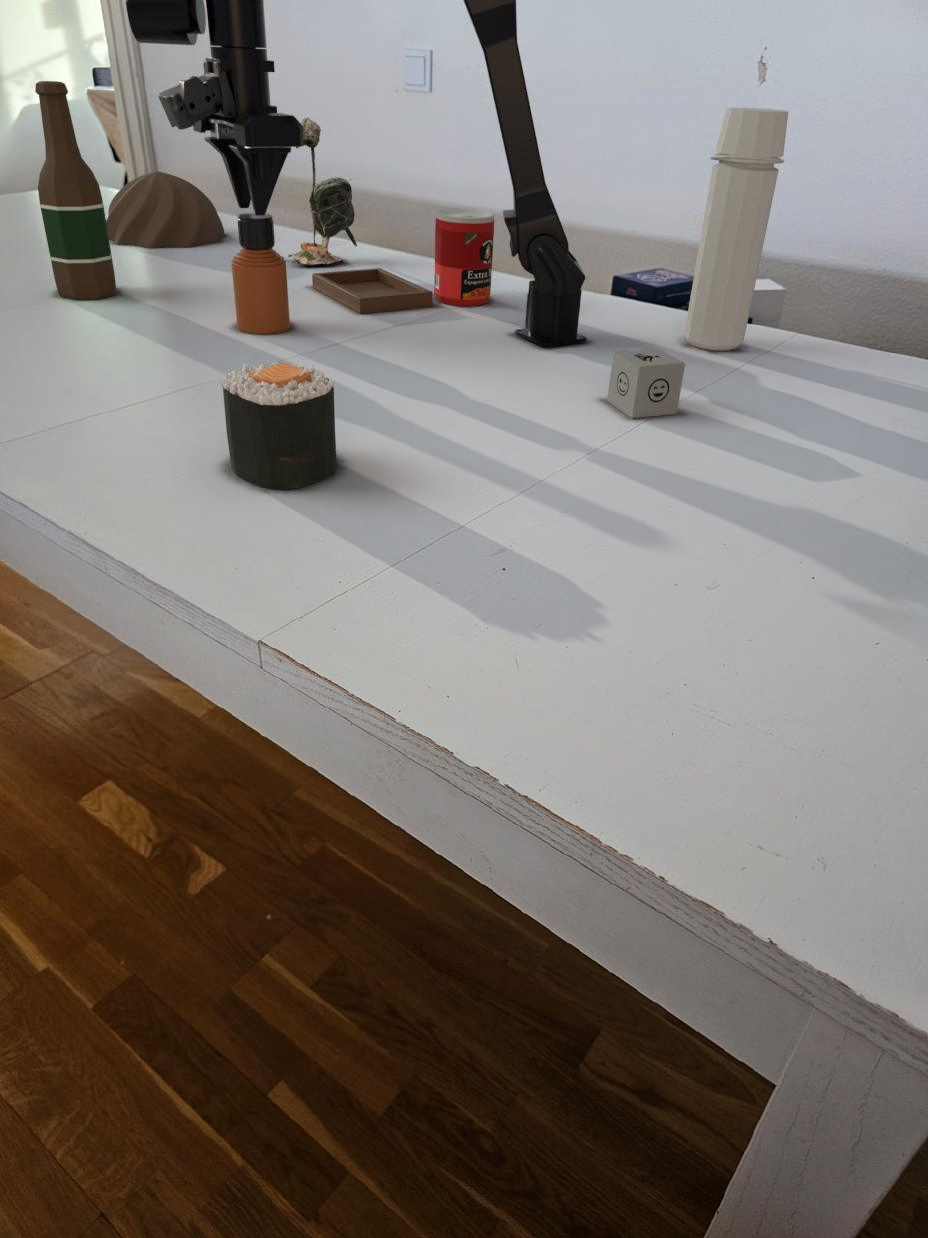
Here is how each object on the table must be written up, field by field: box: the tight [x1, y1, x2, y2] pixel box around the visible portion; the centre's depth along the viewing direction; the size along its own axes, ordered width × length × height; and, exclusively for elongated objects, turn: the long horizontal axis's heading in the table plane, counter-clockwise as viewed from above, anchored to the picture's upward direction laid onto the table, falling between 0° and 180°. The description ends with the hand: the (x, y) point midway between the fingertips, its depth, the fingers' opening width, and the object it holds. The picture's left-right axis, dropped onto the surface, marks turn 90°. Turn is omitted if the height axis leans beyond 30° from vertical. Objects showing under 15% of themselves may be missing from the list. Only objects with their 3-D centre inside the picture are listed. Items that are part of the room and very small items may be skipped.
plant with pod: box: [288, 117, 358, 266], centre depth 136 cm, size 8×11×20 cm
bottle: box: [230, 247, 291, 335], centre depth 105 cm, size 6×6×12 cm
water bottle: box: [683, 106, 789, 352], centre depth 104 cm, size 9×8×25 cm
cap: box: [237, 212, 276, 249], centre depth 102 cm, size 4×4×3 cm
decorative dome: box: [106, 170, 226, 249], centre depth 151 cm, size 19×20×10 cm
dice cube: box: [606, 347, 686, 419], centre depth 88 cm, size 5×5×5 cm
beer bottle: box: [34, 80, 117, 301], centre depth 112 cm, size 8×8×24 cm
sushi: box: [219, 361, 338, 490], centre depth 71 cm, size 8×8×8 cm
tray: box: [311, 267, 433, 315], centre depth 123 cm, size 16×11×2 cm
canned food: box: [433, 208, 495, 307], centre depth 121 cm, size 8×8×11 cm
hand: (251, 211), depth 101 cm, fingers open, 5 cm apart
